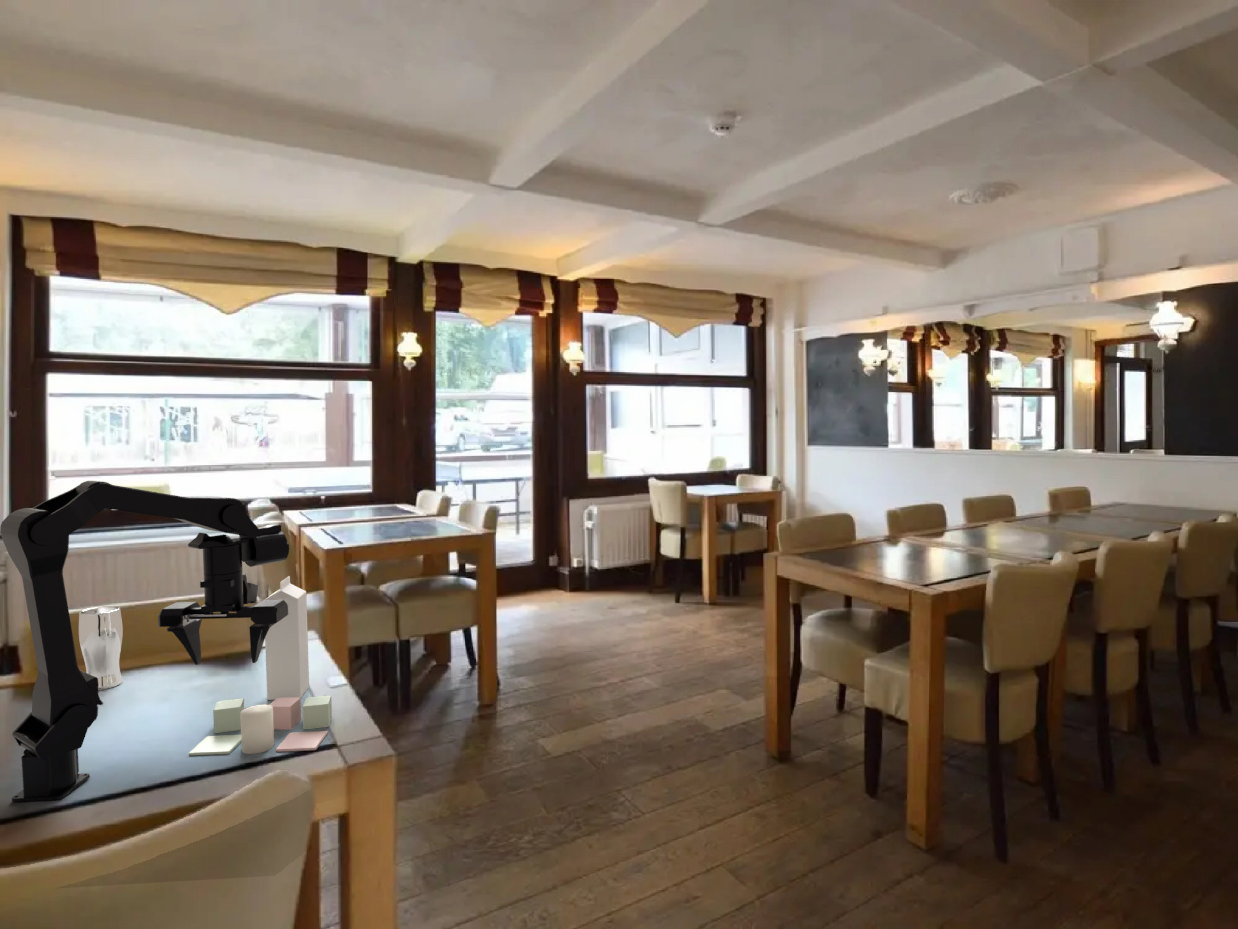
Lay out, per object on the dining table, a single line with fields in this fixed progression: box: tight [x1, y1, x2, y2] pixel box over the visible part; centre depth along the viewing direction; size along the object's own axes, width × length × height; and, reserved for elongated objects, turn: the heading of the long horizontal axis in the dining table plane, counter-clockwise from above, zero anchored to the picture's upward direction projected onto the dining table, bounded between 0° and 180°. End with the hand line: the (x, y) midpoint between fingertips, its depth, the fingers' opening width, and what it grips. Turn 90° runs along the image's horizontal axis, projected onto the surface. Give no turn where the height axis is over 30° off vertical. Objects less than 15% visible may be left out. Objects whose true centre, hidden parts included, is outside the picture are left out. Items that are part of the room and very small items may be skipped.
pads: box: [188, 730, 329, 756], centre depth 115 cm, size 6×19×1 cm, turn 95°
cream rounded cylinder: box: [240, 704, 275, 755], centre depth 114 cm, size 5×5×6 cm
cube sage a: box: [302, 695, 333, 730], centre depth 123 cm, size 4×4×4 cm
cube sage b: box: [212, 697, 245, 734], centre depth 121 cm, size 4×4×4 cm
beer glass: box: [78, 605, 124, 691], centre depth 141 cm, size 7×7×15 cm
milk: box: [264, 575, 310, 701], centre depth 136 cm, size 6×6×22 cm
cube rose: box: [268, 697, 303, 731], centre depth 122 cm, size 4×4×4 cm
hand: (226, 663), depth 121 cm, fingers open, 9 cm apart
